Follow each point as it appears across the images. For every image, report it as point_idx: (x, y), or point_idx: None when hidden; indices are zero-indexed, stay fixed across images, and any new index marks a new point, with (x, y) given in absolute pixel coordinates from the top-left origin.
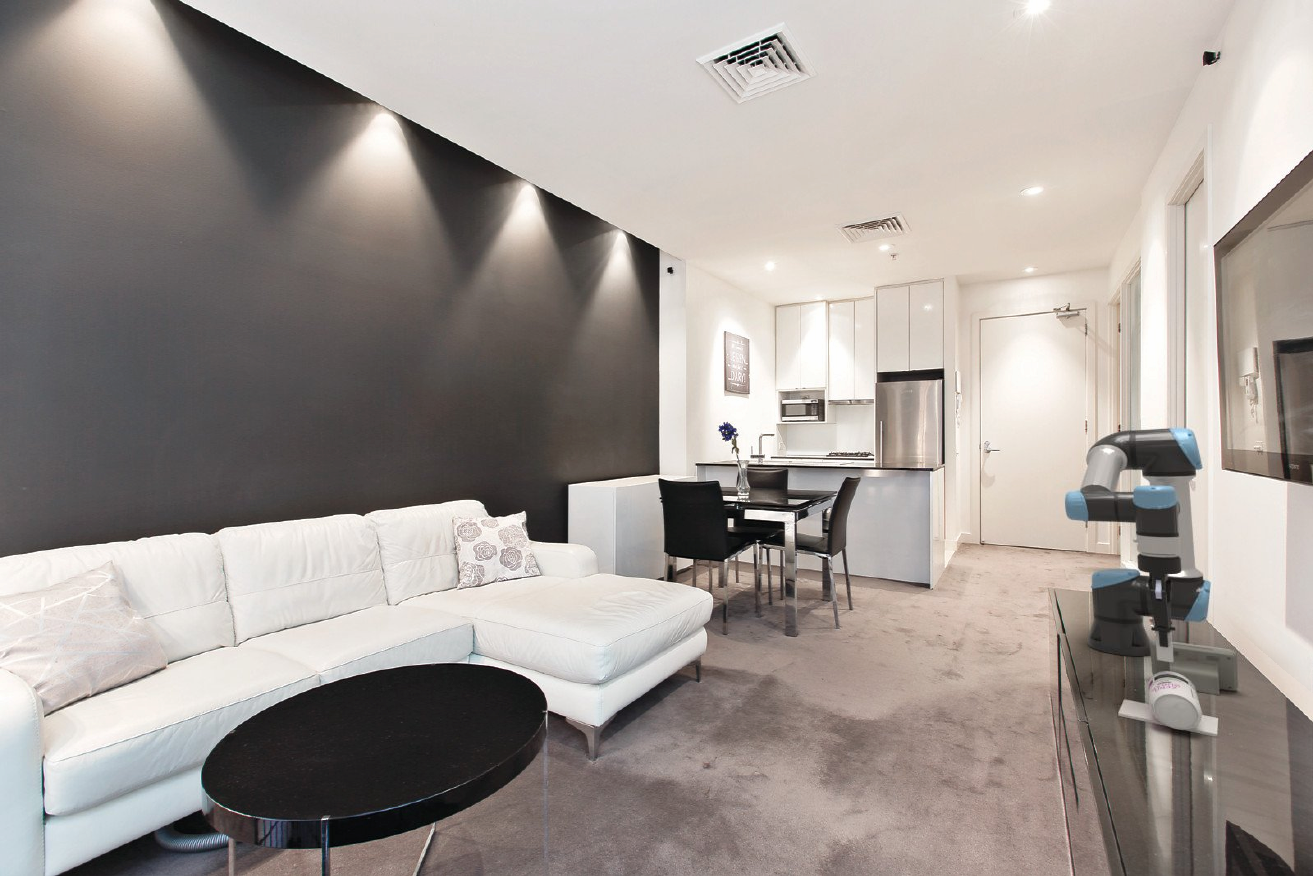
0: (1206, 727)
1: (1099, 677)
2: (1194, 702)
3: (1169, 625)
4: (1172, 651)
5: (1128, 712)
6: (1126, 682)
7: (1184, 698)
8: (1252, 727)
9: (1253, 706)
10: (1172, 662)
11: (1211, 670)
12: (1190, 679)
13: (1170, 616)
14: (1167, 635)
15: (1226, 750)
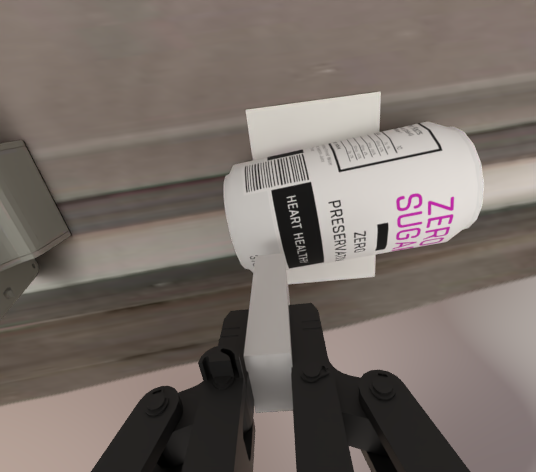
0: (344, 120)
1: (142, 343)
2: (456, 141)
3: (324, 408)
4: (279, 279)
5: (357, 263)
6: (127, 304)
7: (476, 167)
8: (227, 30)
9: (32, 54)
10: (3, 262)
11: None
12: (30, 207)
13: (143, 464)
14: (299, 351)
15: (464, 58)
